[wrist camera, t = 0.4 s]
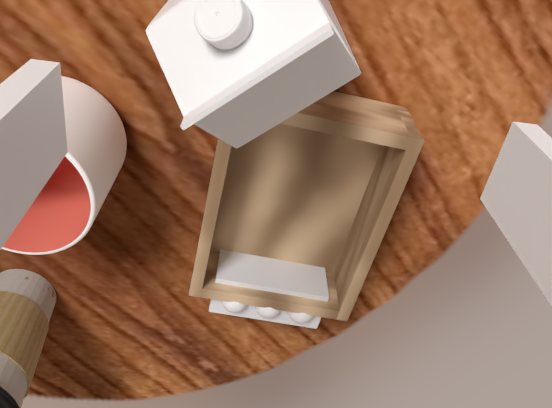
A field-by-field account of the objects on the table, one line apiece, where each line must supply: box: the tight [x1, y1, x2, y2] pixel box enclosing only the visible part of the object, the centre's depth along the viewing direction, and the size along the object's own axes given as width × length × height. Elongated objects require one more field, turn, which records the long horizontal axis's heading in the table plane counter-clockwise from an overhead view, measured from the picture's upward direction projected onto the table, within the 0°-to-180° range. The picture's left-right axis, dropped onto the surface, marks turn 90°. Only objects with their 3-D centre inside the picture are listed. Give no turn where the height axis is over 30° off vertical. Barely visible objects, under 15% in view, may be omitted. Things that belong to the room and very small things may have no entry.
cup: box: [1, 76, 127, 255], centre depth 37 cm, size 10×10×10 cm
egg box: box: [209, 249, 329, 329], centre depth 46 cm, size 10×4×5 cm, turn 77°
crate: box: [189, 91, 425, 321], centre depth 42 cm, size 14×18×6 cm
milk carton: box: [146, 0, 361, 149], centre depth 28 cm, size 7×7×19 cm
